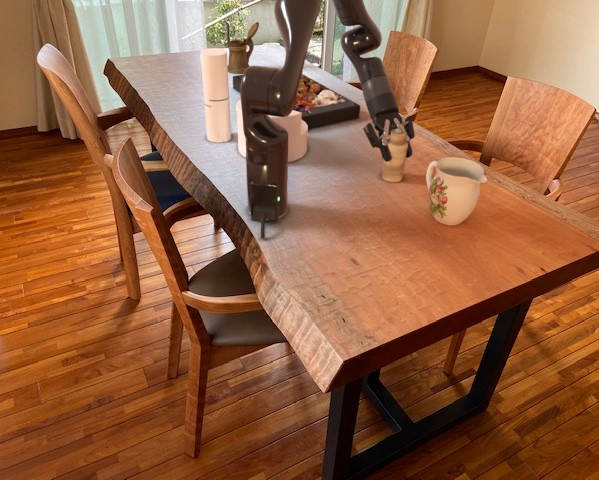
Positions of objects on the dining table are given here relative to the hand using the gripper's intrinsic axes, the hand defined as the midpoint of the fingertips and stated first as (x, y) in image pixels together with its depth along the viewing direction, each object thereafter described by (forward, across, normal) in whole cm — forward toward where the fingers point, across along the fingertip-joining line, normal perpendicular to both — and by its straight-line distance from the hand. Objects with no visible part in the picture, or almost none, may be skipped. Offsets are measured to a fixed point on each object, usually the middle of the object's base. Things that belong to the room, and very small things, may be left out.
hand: (399, 158), depth 128 cm
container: (-16, -23, +26) cm, 38 cm away
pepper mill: (+3, 0, +6) cm, 7 cm away
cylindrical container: (-25, -35, +34) cm, 55 cm away
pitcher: (+18, +1, -9) cm, 20 cm away
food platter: (-39, -2, +48) cm, 61 cm away
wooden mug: (-67, -5, +76) cm, 102 cm away
